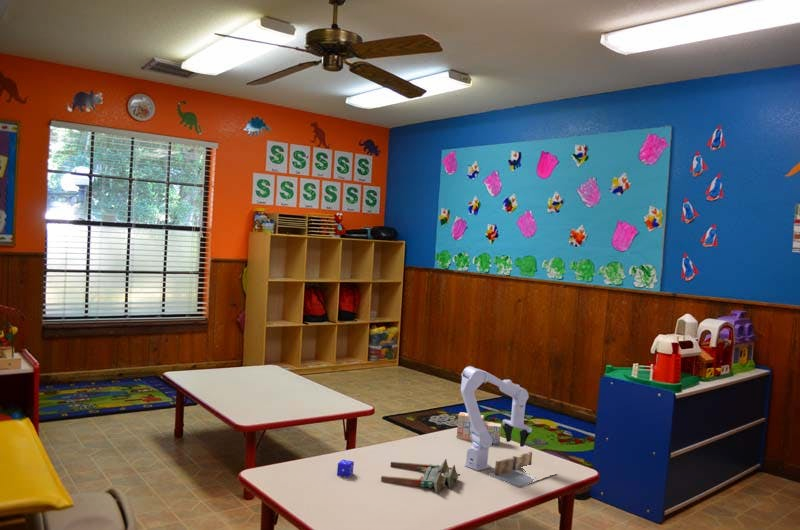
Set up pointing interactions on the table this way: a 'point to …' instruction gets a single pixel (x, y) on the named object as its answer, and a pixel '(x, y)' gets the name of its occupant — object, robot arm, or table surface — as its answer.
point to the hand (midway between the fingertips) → (515, 443)
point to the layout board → (515, 477)
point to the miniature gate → (426, 475)
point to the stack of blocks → (465, 426)
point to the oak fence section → (523, 460)
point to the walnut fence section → (505, 466)
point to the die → (345, 468)
